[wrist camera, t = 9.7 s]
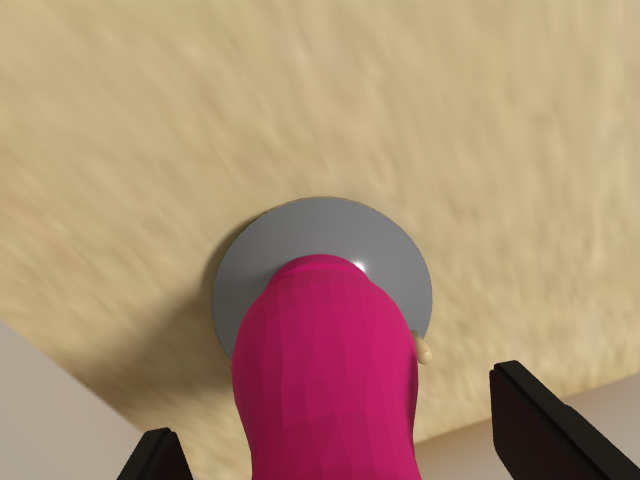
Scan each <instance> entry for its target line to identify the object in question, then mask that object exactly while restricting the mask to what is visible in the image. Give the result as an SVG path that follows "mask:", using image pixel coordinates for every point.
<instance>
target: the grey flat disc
mask: <svg viewBox="0 0 640 480" xmlns="http://www.w3.org/2000/svg"><path fill="white" fill-rule="evenodd" d="M312 254H328V255H335V256H338V257H341V258H344V259H346V260H348V261H349V262H351V263H353V264H355V265H356V266H357V267H359V268H360V269H361V270H362V271H363V272H364V273H365V274H366V276H367V277H368V278H369V280H370V281H371V282H372V283H374V284H375V285H377V286H378V287H380V288H381V289H382V290H384V291H385V292H386V293H387V294H388V295H389V297H390V298H391V299H392V300H393V301H394V302H395V303H396V305H397V306H398V308H399V309H400V311H401V312H402V314H403V316H404V319H405V321H406V323H407V325H408V327H409V330H410V332H411V334H412V337H413V339H414V344H415V349H416V354H417V360H418V362H419V363H421V364H428V363H430V362H431V361H432V359H433V354H432V352H431V351H430V349H429V348H428V346H427V345H426V344H425V342H424V341H423V339H424V336H425V334H426V331H427V329H428V325H429V321H430V317H431V311H432V286H431V280H430V275H429V272H428V269H427V266H426V263H425V261H424V259H423V257H422V255H421V253H420V251H419V249H418V248H417V246H416V245H415V243H414V242H413V241H412V239H411V238H410V237H409V236H408V235H407V234H406V233H405V232H404V230H403V229H402V228H401V227H399V226H398V225H397V224H396V223H394V222H393V221H392V220H391V219H389V218H388V217H386V216H385V215H383V214H381V213H380V212H378V211H376V210H375V209H373V208H371V207H369V206H366V205H364V204H362V203H359V202H356V201H352V200H348V199H344V198H337V197H310V198H302V199H298V200H294V201H291V202H287V203H285V204H282V205H280V206H277V207H275V208H273V209H271V210H270V211H268V212H266V213H264V214H263V215H261V216H260V217H259V218H257V219H256V220H255V221H253V222H252V223H251V224H250V225H249V226H248V227H247V228H246V229H245V230H244V231H243V232H242V233H241V234H240V235H239V236H238V237H237V238H236V240H235V241H234V242H233V244H232V245H231V246H230V248H229V249H228V250H227V252H226V254H225V256H224V258H223V259H222V261H221V263H220V266H219V268H218V271H217V274H216V276H215V281H214V286H213V290H212V316H213V321H214V326H215V330H216V333H217V335H218V338H219V341H220V343H221V345H222V347H223V349H224V350H225V352H226V354H227V356H228V357H229V358H230V360H231V361H232V355H233V351H234V346H235V342H236V337H237V333H238V330H239V327H240V325H241V322H242V320H243V318H244V316H245V314H246V313H247V311H248V309H249V308H250V306H251V305H252V304H253V303H254V302H255V300H256V299H257V298H258V297H259V296H260V295H261V294H262V293H263V292H264V290H265V288H266V286H267V284H268V283H269V281H270V279H271V278H272V277H273V275H274V274H275V273H276V272H277V271H278V270H279V269H281V268H282V267H283V266H284V265H286V264H287V263H289V262H290V261H292V260H295V259H297V258H299V257H303V256H308V255H312Z"/></svg>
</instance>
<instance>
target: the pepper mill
mask: <svg viewBox="0 0 640 480" xmlns="http://www.w3.org/2000/svg"><path fill="white" fill-rule="evenodd" d="M232 381H233V391H234V399H235V403H236V406H237V409H238V412H239V415H240V418H241V421H242V425H243V428H244V431H245V434H246V437H247V440H248V444H249V447H250V451H251V460H252V480H422V479H421V476H420V473H419V469H418V466H417V463H416V460H415V453H414V445H413V426H414V418H415V410H416V403H417V394H418V365H417V354H416V349H415V344H414V339H413V337H412V334H411V332H410V330H409V327H408V325H407V323H406V321H405V319H404V316H403V314H402V312H401V311H400V309H399V308H398V306H397V305H396V303H395V302H394V301H393V300H392V299H391V298H390V297H389V295H388V294H387V293H386V292H385V291H384V290H382V289H381V288H380V287H378V286H377V285H375V284H374V283H372V282H371V281H370V280H369V278H368V277H367V276H366V274H365V273H364V272H363V271H362V270H361V269H360V268H359V267H357V266H356V265H355V264H353V263H351V262H349V261H348V260H346V259H344V258H341V257H338V256H335V255H328V254H312V255H308V256H303V257H299V258H297V259H295V260H292V261H290V262H289V263H287V264H286V265H284V266H283V267H282V268H281V269H279V270H278V271H277V272H276V273H275V274H274V275H273V277H272V278H271V279H270V281H269V283H268V284H267V286H266V288H265V290H264V292H263V293H262V294H261V295H260V296H259V297H258V298H257V299H256V300H255V302H254V303H253V304H252V305H251V306H250V308H249V309H248V311H247V313H246V314H245V316H244V318H243V320H242V322H241V325H240V327H239V330H238V333H237V337H236V342H235V346H234V351H233V355H232Z"/></svg>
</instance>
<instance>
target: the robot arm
mask: <svg viewBox="0 0 640 480" xmlns="http://www.w3.org/2000/svg"><path fill="white" fill-rule="evenodd" d="M489 378H490V394H491V410H492V426H493V442H494V446H495V450H496V452H497V454H498V456H499V458H500V459H501V461H502V463H503V464H504V466H505V467H506V469H507V470H508V472H509V473H510V475H511V476H512V478H513V479H514V480H640V469H639V468H638V467H637V466H636V465H635V464H634V463H633V462H632V461H631V460H630V459H629V458H628V457H626V456H625V455H624V454H623V453H622V452H621V451H620V450H619V449H618V448H616V447H615V446H614V445H613V444H612V443H611V442H610V441H609V440H608V439H607V438H606V437H604V436H603V435H602V434H601V433H600V432H599V431H598V430H596V428H595V427H593V426H592V425H591V424H590V423H589V422H588V421H587V420H586V419H585V418H583V416H581V415H580V414H579V413H578V412H577V411H576V410H574V409H573V408H572V407H570V406H568V405H565V404H564V403H563V402H562V401H560V400H559V399H558V398H557V397H556V396H555V395H554V394H553V393H552V392H551V391H550V390H549V389H548V388H546V387H545V386H544V385H543V384H542V383H541V382H540V381H539V380H538V379H537V378H536V377H535V376H534V375H532V374H531V373H530V372H529V371H528V370H527V369H526V368H525V367H524V366H523V365H522V364H521V363H519V362H518V361H516V360H512V361H507V362H502V363H497V364H495V365H494V370H490V372H489ZM117 480H193V477H192V474H191V472H190V469H189V466H188V464H187V461H186V458H185V455H184V453H183V450H182V447H181V445H180V442H179V439H178V436H177V434H176V433H175V432H171V430H170V429H169V428H168V427H166V428H160V429H155V430H150V431H147V432H145V433H144V435H143V436H142V438H141V440H140V441H139V443H138V444H137V446H136V448H135V449H134V451H133V453H132V455H131V456H130V458H129V459H128V461H127V463H126V465H125V466H124V468H123V470H122V471H121V473H120V475H119V476H118V478H117Z"/></svg>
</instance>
